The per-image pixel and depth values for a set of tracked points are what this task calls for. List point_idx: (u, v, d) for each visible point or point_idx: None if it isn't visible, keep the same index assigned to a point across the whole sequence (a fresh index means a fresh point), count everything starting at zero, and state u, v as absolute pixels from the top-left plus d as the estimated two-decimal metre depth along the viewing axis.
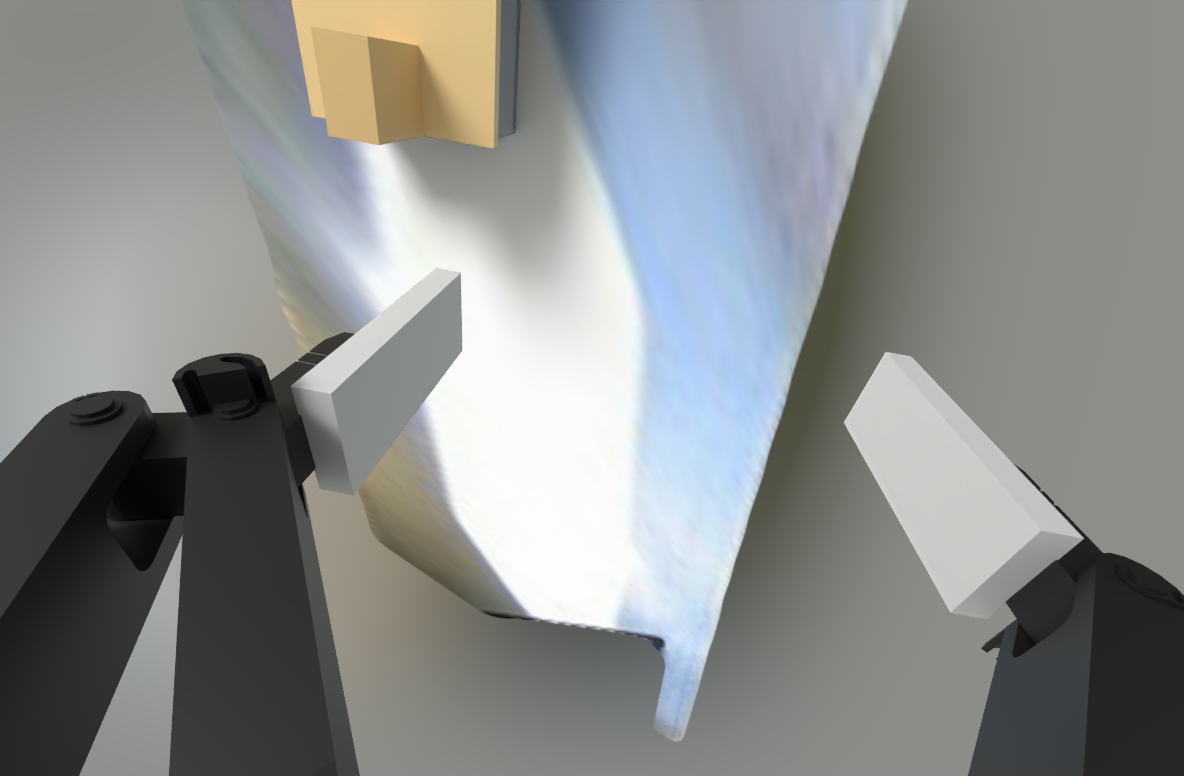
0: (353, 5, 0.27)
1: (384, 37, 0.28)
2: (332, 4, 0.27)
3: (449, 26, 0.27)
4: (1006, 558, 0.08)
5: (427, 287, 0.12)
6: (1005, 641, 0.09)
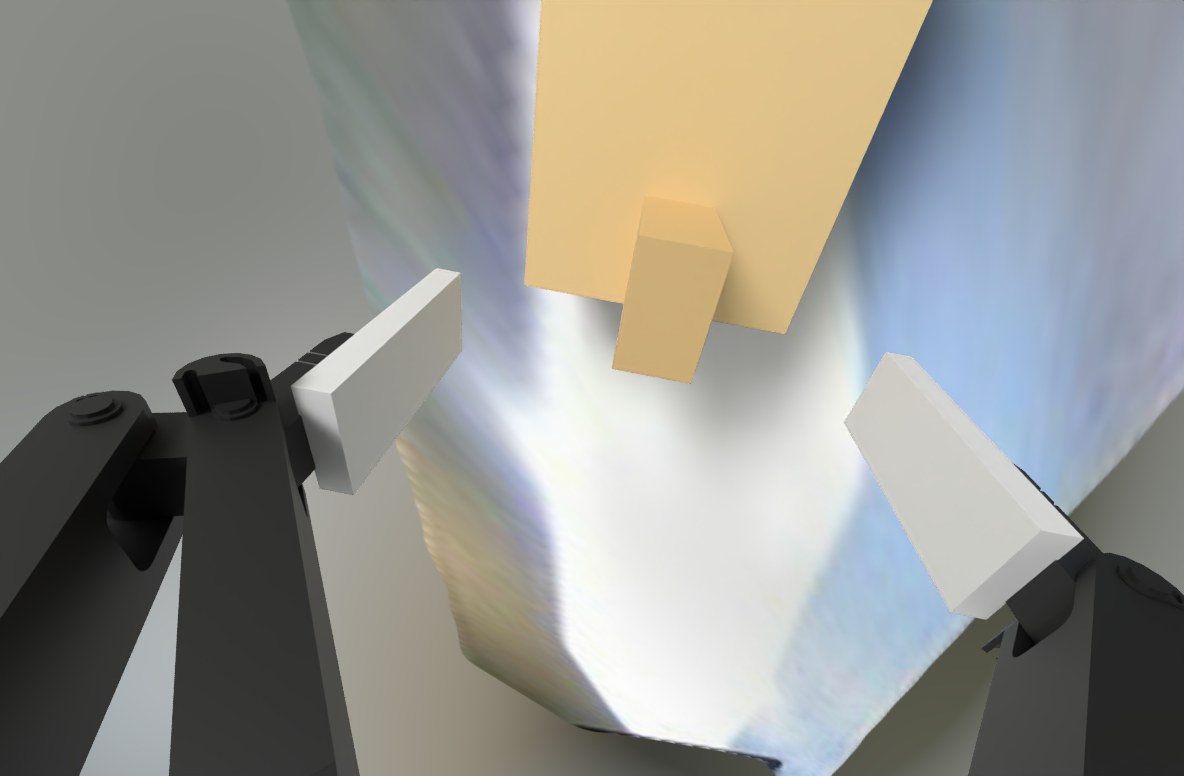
0: (629, 153, 0.18)
1: (665, 195, 0.19)
2: (596, 151, 0.18)
3: (774, 185, 0.18)
4: (1006, 558, 0.08)
5: (427, 287, 0.12)
6: (1005, 641, 0.09)
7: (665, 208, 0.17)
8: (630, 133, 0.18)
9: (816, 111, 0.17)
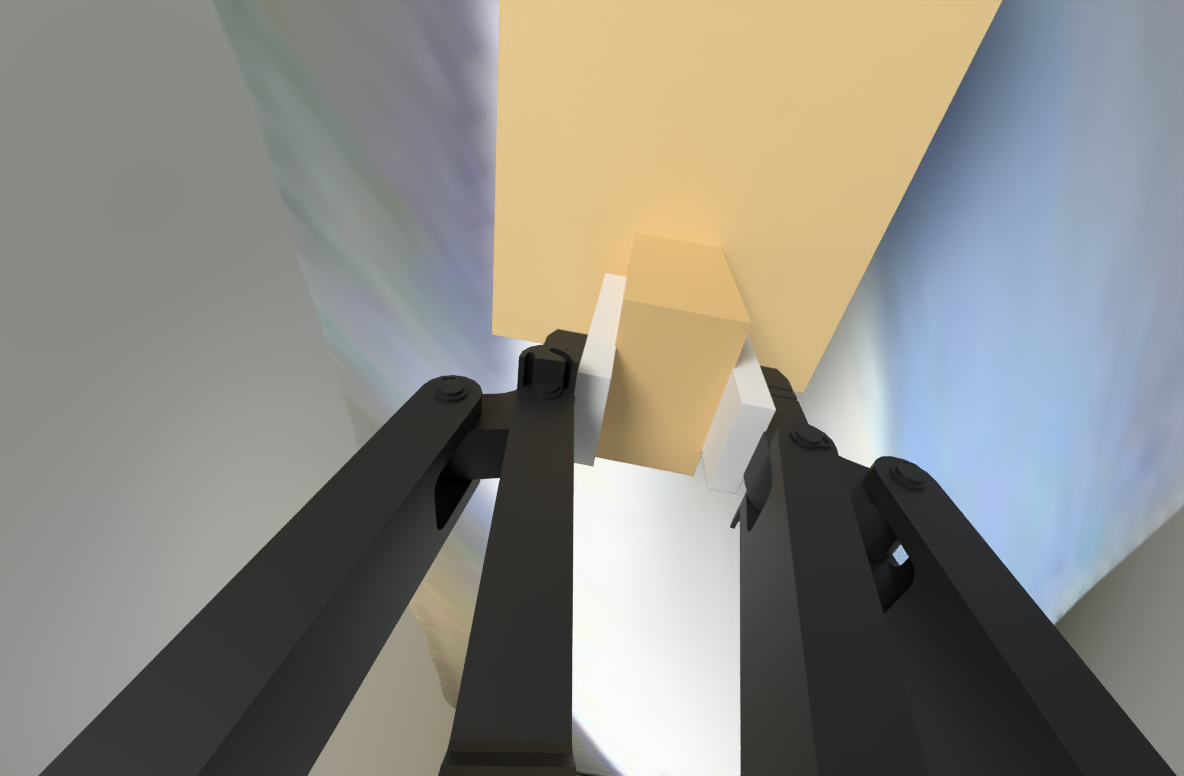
0: (614, 182, 0.15)
1: (659, 233, 0.15)
2: (573, 179, 0.15)
3: (794, 221, 0.15)
4: (730, 433, 0.10)
5: (611, 289, 0.14)
6: (741, 517, 0.10)
7: (660, 251, 0.14)
8: (616, 157, 0.14)
9: (849, 132, 0.13)
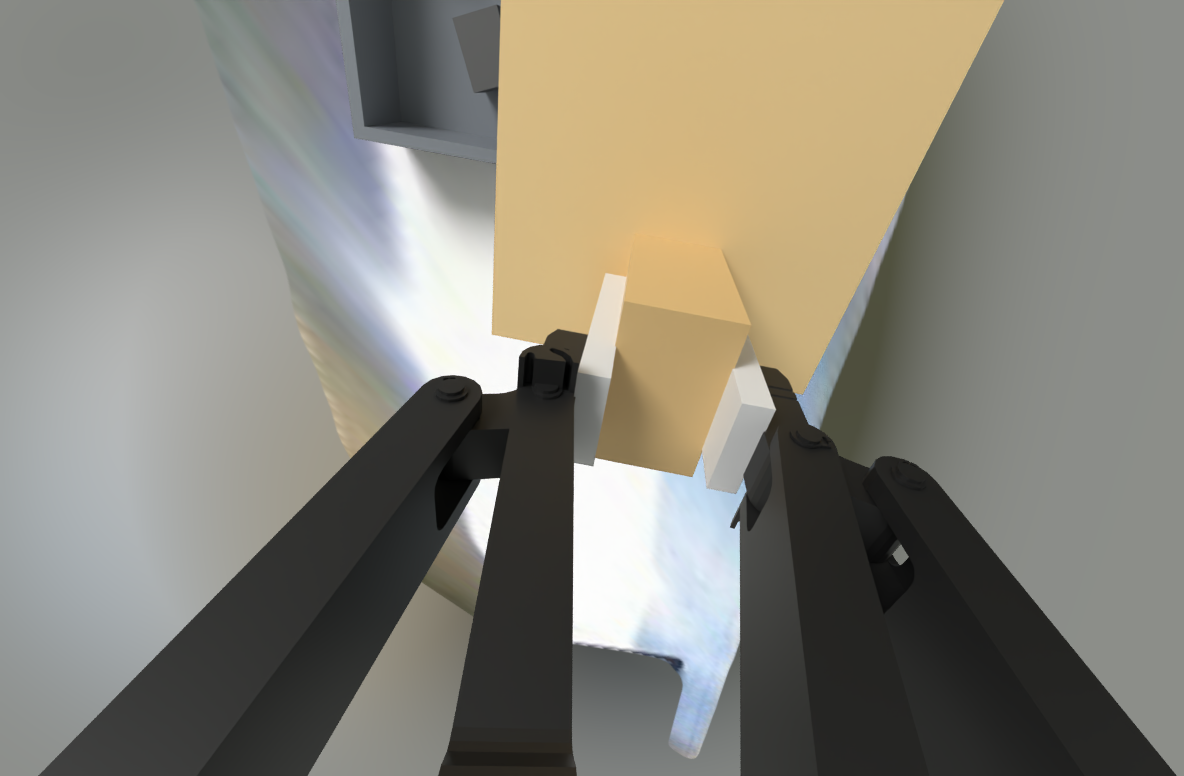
0: (615, 183, 0.15)
1: (659, 234, 0.15)
2: (574, 180, 0.15)
3: (794, 223, 0.15)
4: (730, 433, 0.10)
5: (611, 289, 0.14)
6: (741, 517, 0.10)
7: (660, 253, 0.14)
8: (616, 159, 0.14)
9: (849, 134, 0.13)
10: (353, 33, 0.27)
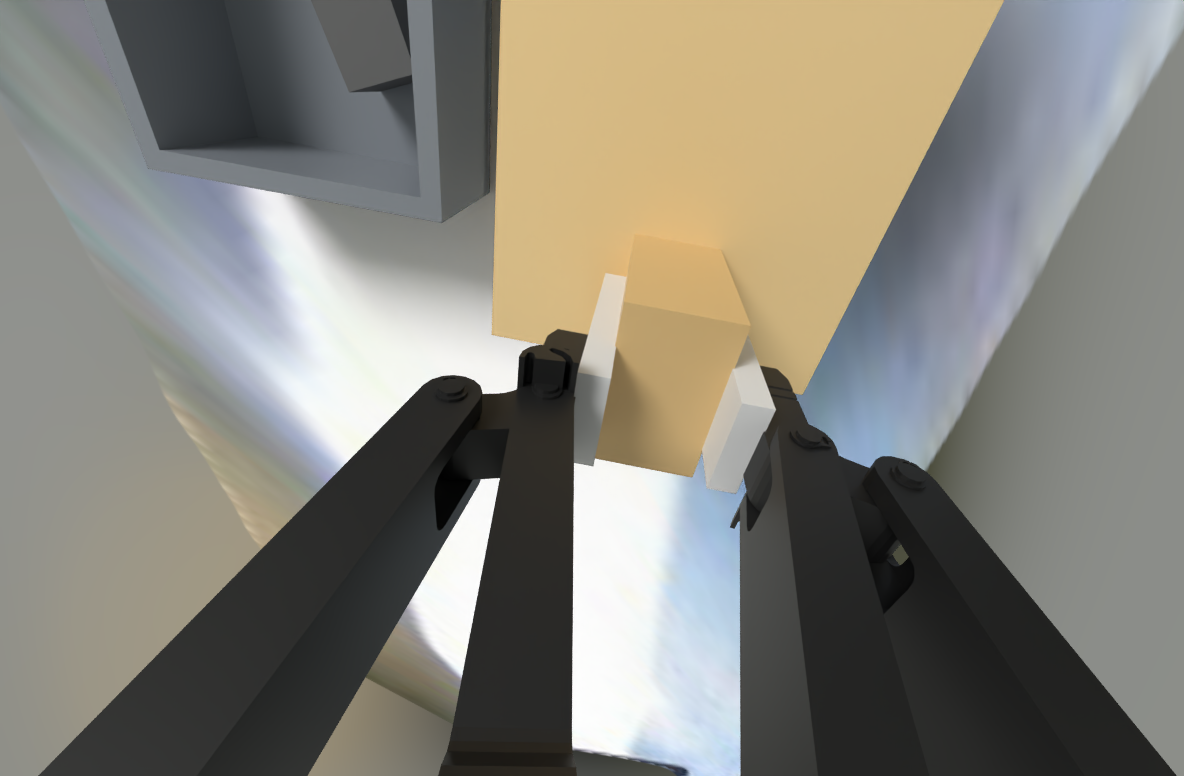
0: (615, 184, 0.15)
1: (659, 234, 0.15)
2: (574, 180, 0.15)
3: (794, 223, 0.15)
4: (730, 432, 0.10)
5: (611, 289, 0.14)
6: (741, 517, 0.10)
7: (659, 253, 0.14)
8: (616, 159, 0.14)
9: (849, 135, 0.13)
10: None
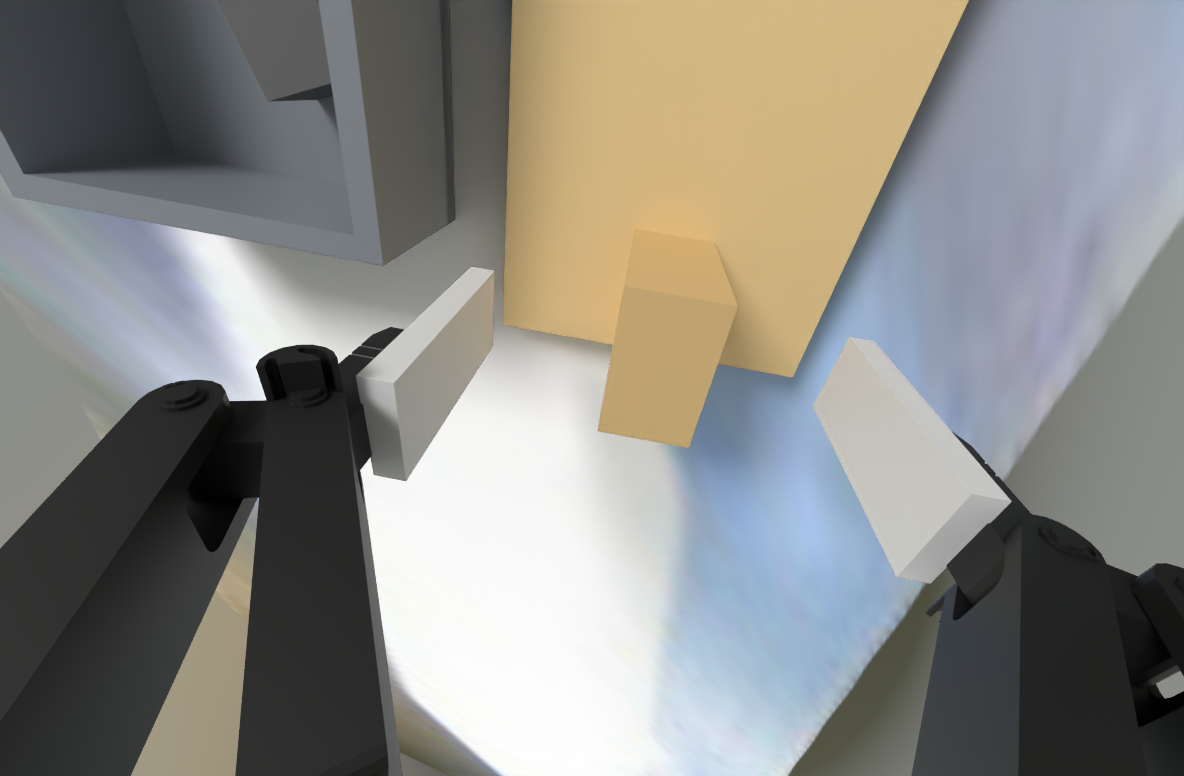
0: (615, 183, 0.16)
1: (657, 229, 0.17)
2: (578, 180, 0.16)
3: (780, 217, 0.16)
4: (943, 522, 0.09)
5: (465, 284, 0.13)
6: (946, 605, 0.09)
7: (657, 245, 0.15)
8: (617, 160, 0.16)
9: (828, 136, 0.15)
10: None
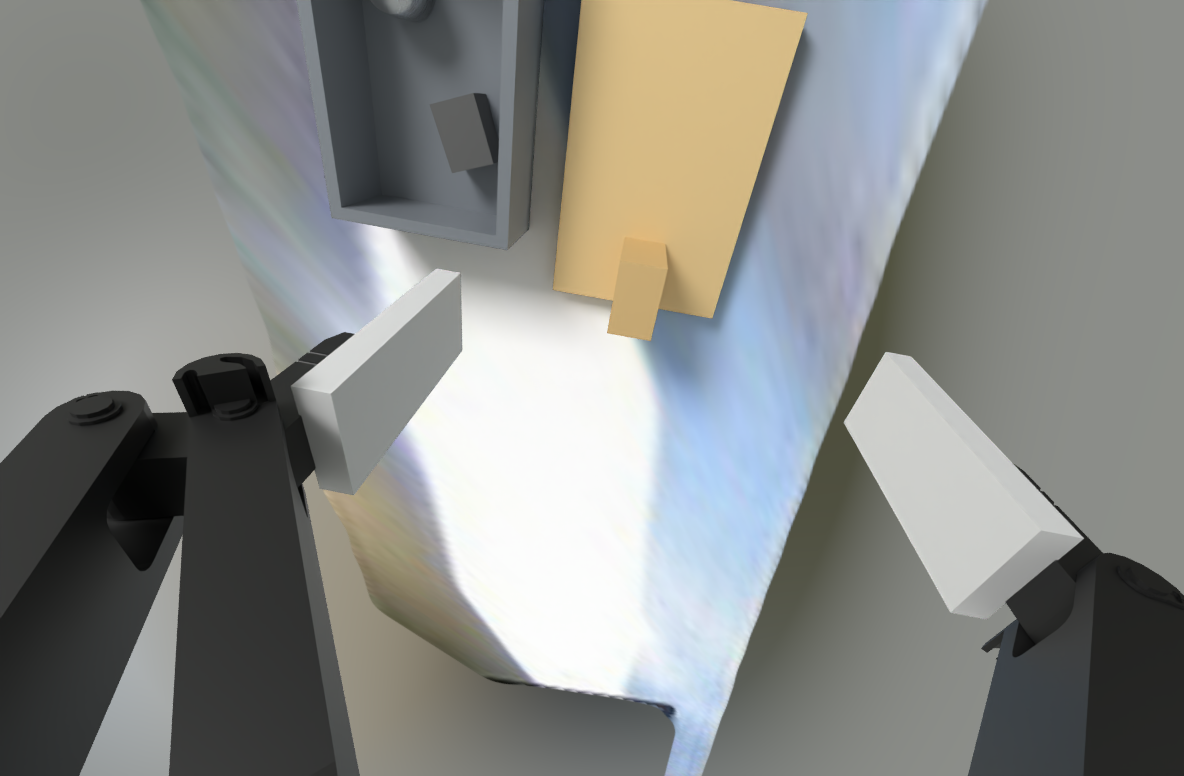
0: (615, 214, 0.32)
1: (636, 237, 0.33)
2: (596, 213, 0.32)
3: (697, 231, 0.32)
4: (1006, 558, 0.08)
5: (427, 287, 0.12)
6: (1005, 641, 0.09)
7: (635, 245, 0.31)
8: (616, 203, 0.32)
9: (716, 193, 0.31)
10: (329, 121, 0.27)
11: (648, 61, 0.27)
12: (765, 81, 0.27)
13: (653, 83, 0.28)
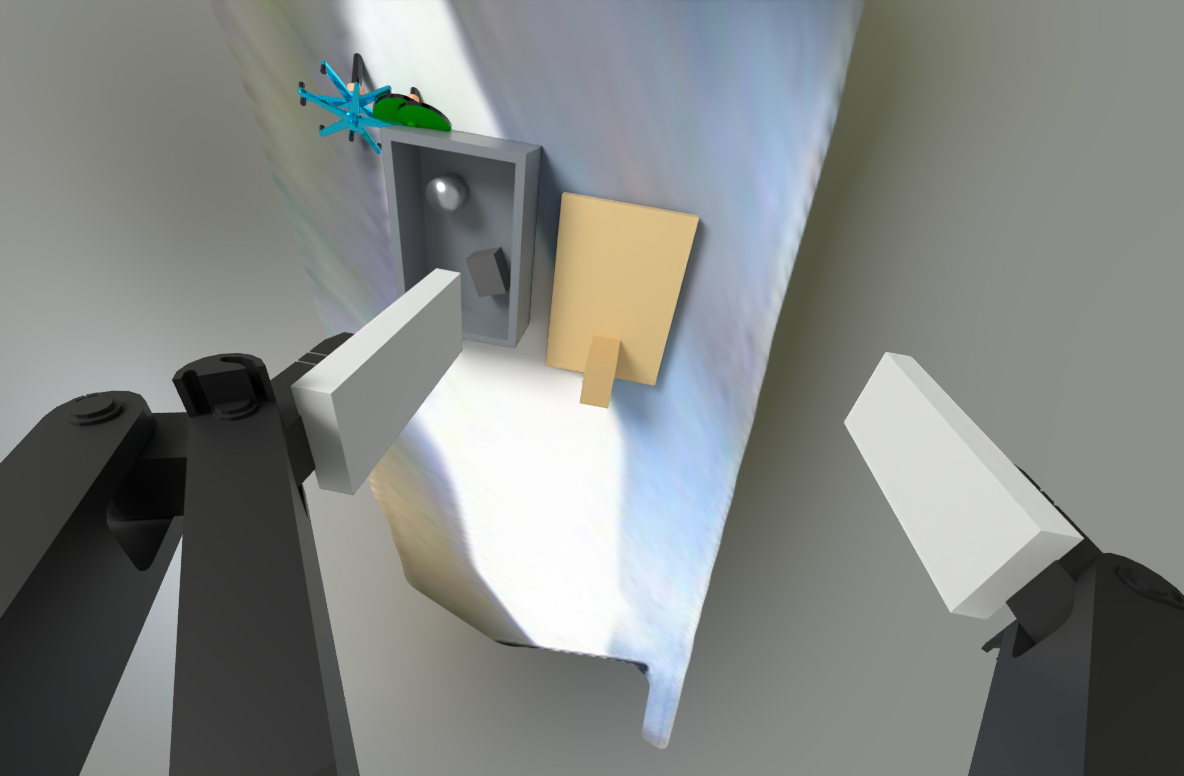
0: (586, 321, 0.48)
1: (600, 335, 0.49)
2: (574, 320, 0.49)
3: (640, 333, 0.48)
4: (1006, 558, 0.08)
5: (427, 287, 0.12)
6: (1005, 641, 0.09)
7: (599, 343, 0.48)
8: (586, 315, 0.48)
9: (651, 311, 0.47)
10: (403, 275, 0.43)
11: (603, 238, 0.43)
12: (676, 252, 0.43)
13: (607, 250, 0.44)
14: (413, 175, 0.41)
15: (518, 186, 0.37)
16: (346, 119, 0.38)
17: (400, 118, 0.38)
